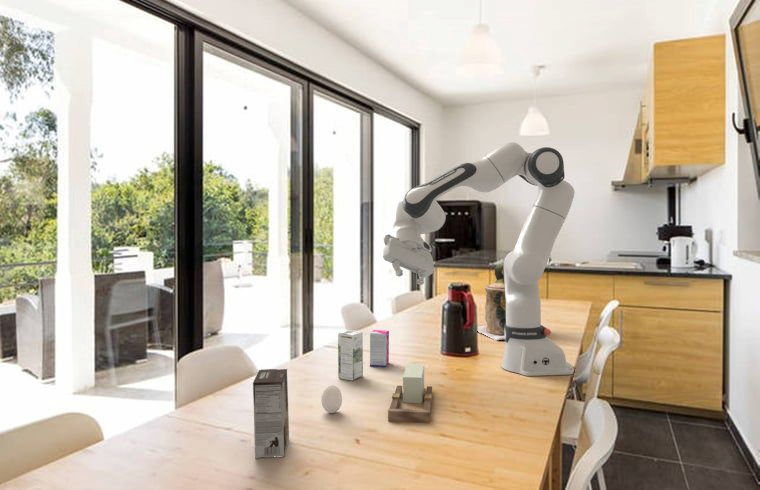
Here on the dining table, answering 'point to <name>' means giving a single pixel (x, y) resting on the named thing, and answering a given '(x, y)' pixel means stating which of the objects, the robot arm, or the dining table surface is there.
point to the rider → (413, 384)
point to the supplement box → (379, 348)
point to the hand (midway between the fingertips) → (410, 279)
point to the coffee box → (271, 413)
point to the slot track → (409, 414)
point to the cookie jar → (495, 307)
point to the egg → (331, 398)
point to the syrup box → (350, 355)
